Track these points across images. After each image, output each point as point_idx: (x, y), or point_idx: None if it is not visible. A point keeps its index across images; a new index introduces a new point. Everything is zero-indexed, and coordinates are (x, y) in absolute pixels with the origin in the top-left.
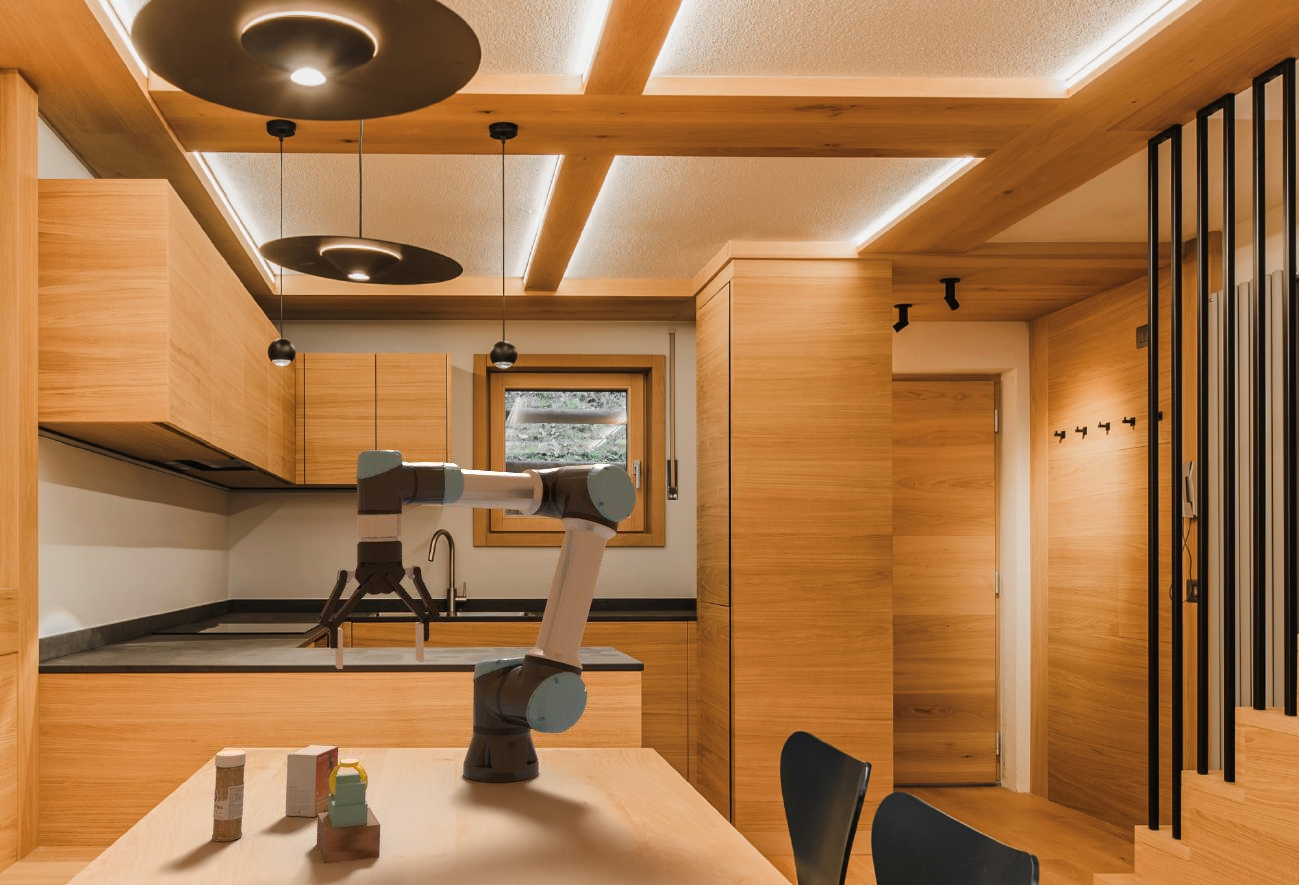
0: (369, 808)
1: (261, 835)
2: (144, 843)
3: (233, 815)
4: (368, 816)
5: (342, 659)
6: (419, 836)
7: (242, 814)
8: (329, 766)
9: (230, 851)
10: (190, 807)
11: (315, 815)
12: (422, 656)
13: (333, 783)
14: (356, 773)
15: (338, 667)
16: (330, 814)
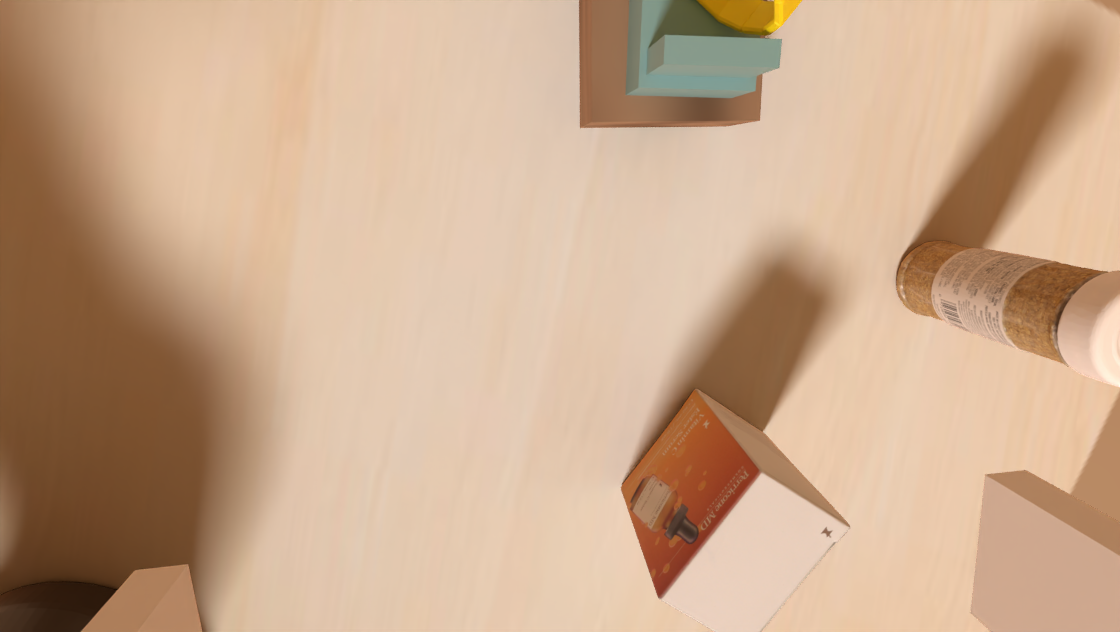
0: (594, 110)
1: (846, 271)
2: None
3: (970, 252)
4: (613, 6)
5: (1070, 521)
6: (433, 85)
7: (936, 280)
8: (682, 512)
9: (940, 152)
10: (965, 589)
11: (692, 393)
12: (116, 609)
13: (772, 15)
14: (680, 59)
15: (1036, 480)
16: None
